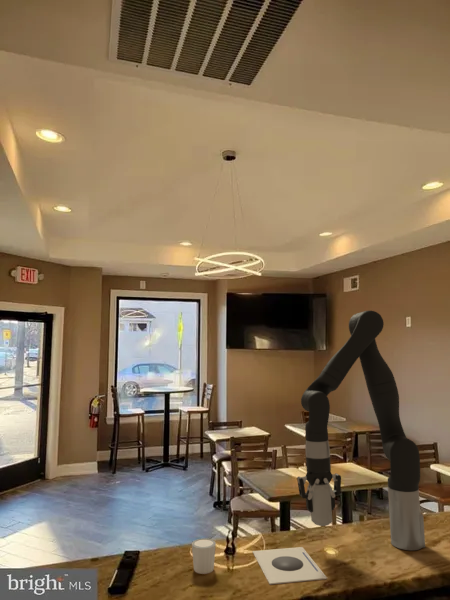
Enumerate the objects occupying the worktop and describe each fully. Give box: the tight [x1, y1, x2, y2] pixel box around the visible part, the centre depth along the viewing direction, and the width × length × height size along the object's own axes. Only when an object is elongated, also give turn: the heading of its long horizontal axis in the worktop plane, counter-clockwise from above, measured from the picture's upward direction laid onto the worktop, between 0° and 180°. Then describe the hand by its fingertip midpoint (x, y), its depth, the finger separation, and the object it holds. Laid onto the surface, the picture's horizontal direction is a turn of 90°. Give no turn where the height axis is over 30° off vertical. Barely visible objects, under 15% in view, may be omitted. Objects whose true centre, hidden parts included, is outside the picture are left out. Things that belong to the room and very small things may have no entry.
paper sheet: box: [252, 546, 328, 585], centre depth 129 cm, size 16×20×1 cm
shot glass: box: [191, 538, 217, 575], centre depth 127 cm, size 7×7×7 cm
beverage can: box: [310, 483, 333, 527], centre depth 139 cm, size 6×6×12 cm
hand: (320, 510), depth 139 cm, fingers closed on beverage can, 6 cm apart
